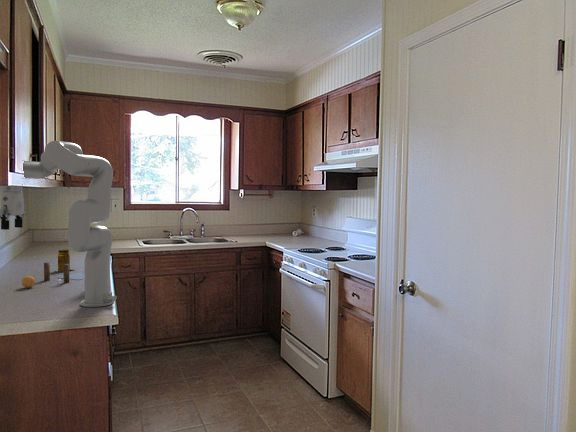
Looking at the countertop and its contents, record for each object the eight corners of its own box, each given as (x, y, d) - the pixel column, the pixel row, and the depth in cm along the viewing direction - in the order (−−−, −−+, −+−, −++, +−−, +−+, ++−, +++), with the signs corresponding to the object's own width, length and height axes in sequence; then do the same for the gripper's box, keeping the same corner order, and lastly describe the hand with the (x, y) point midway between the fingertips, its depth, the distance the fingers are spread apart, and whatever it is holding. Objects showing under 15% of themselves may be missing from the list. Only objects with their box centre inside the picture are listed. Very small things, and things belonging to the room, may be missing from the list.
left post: (51, 280, 224) (50, 262, 223) (46, 281, 221) (46, 263, 221) (47, 279, 225) (46, 262, 224) (42, 280, 222) (42, 262, 222)
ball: (38, 287, 208) (37, 275, 207) (27, 289, 202) (27, 277, 202) (29, 286, 209) (29, 274, 209) (18, 288, 204) (18, 276, 204)
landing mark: (98, 275, 239) (98, 275, 239) (78, 280, 225) (78, 279, 225) (78, 273, 243) (78, 273, 243) (57, 277, 230) (57, 277, 230)
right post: (70, 282, 220) (70, 264, 219) (66, 283, 217) (66, 265, 217) (66, 281, 221) (66, 263, 220) (62, 282, 218) (62, 264, 218)
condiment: (54, 271, 249) (54, 250, 248) (67, 269, 257) (67, 248, 256) (63, 272, 246) (63, 251, 245) (76, 270, 254) (76, 249, 253)
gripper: (9, 189, 184) (8, 230, 185) (32, 189, 201) (31, 227, 202) (-10, 189, 184) (-10, 230, 185) (15, 189, 201) (15, 226, 202)
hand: (12, 228), depth 193 cm, fingers open, 9 cm apart
